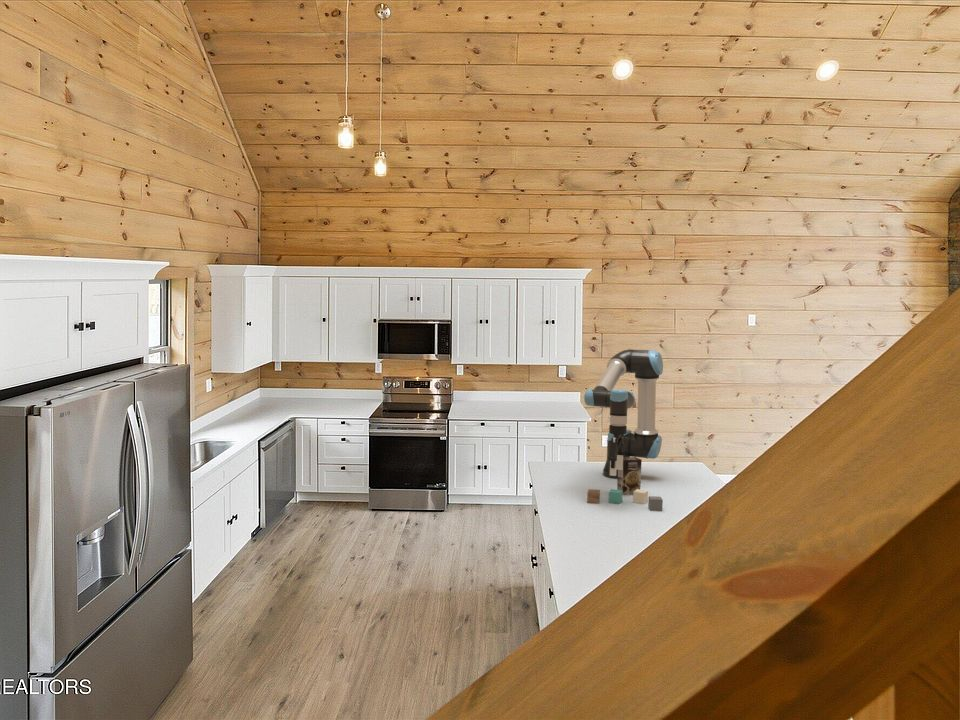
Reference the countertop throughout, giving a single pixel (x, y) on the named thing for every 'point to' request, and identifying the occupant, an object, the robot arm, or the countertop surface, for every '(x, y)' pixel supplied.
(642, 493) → the cream cube
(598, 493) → the walnut cube
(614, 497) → the teal cube
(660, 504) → the charcoal cube
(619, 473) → the coffee box
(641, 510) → the countertop surface
